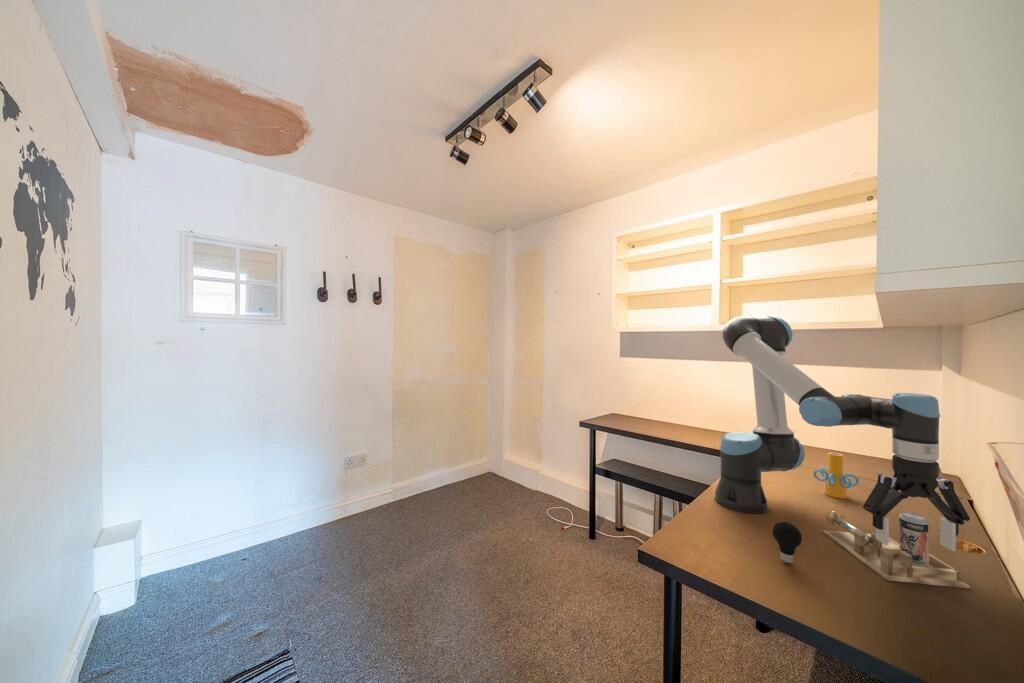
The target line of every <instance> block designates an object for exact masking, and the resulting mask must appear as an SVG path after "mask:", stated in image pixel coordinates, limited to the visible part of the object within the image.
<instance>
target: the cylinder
mask: <svg viewBox="0 0 1024 683" xmlns="http://www.w3.org/2000/svg"><path fill="white" fill-rule="evenodd" d="M818 472H820V475H821V476H822V478H820V477H818V476H817V473H818ZM812 476H813V478H814V479H816V480H817V481H821V482H824V484H823V485H824V489H823V490H824V494H825V495H826V496H829V497H830V498H834V499H839V500H840V499H841V500H842V499H843V500H845V499H847V498H848V489H851V488H852V487H855V486H857V485H859V484H860V480H859V477H858V476H856V475H855V474H853V473H846V474H844V454H842V453H838V452H834V451H833V452H827V467H825V466H824V467H821V468H817V469H815V470H814V471H813V475H812ZM850 477H852V478H853V479H854V480H855V482H854V483H853V481H852V480H851V478H850Z"/></svg>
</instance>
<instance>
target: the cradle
mask: <svg viewBox="0 0 1024 683" xmlns="http://www.w3.org/2000/svg"><path fill="white" fill-rule="evenodd" d="M822 533H823V534H824V535H826V536H827V537H828V538H830V539H831V540H833V541H834V542H835V543H837V544H838V545H839V546H840V547H842V548H843V549H845V550H846V551H847V552H848V553H849V554H851V555H853V556H854V557H855V558H856V559H858V560H859V561H860V562H862V563H863V564H864V565H866V566H867V567H869V569H871V570H872V571H873V572H875V573H876V574H877V575H879V576H880V577H881V578H883V579H884V580H886V581H891V582H901V583H910V584H911V583H913V584H921V585H922V584H923V585H931V586H940V587H941V586H942V587H950V588H960V589H970V585H969V584H967V583H965V582H964V581H963V572H962V571H960V570H958V569H957V568H955V567H953V566H952V565H950V564H948V563H947V562H945V561H943V560H942V559H939V558H938V557H937V556H935V555H934V554H931V553H930V552H929V567H922V566H912V556H911V555H910V554H908V553H906V552H905V551H900V542H898V541H897V540H895V539H894V538H892V537H891V536H889V545H884V544H883V543H881V542H880V541H878V540H877V539H876V532H870V533H866V534H867V535H868V536H870V537H871V538H872V543H870V544H866V543H865V536H864V535H863V534H861V533H860V532H857V531H854V535H853V534H851V533H850V532H849V531H837V530H829V529H828V530H826V529H825V530H824V529H823V530H822Z"/></svg>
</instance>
